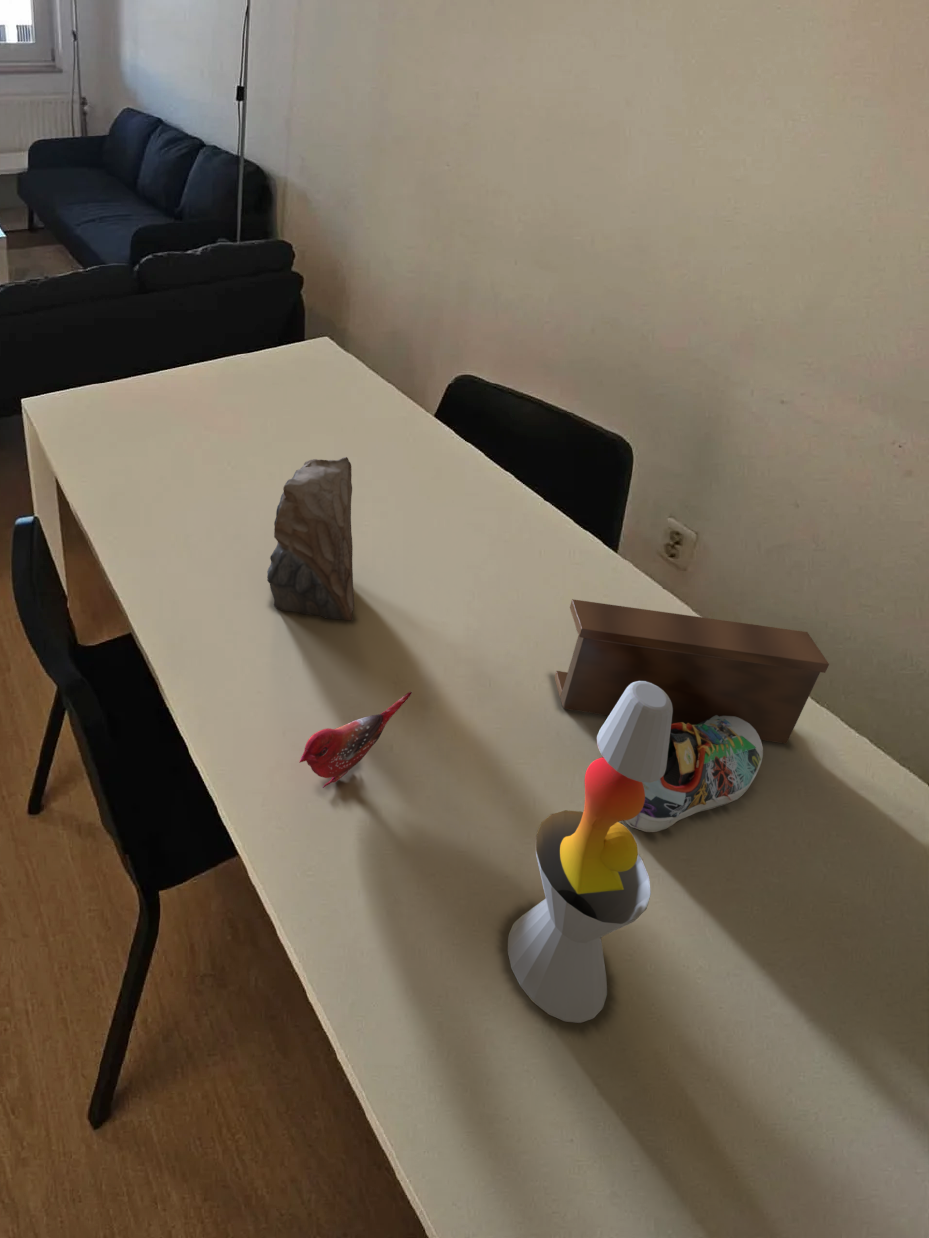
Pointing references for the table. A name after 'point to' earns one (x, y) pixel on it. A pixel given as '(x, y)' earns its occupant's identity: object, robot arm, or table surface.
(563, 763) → the table surface
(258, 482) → the table surface
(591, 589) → the table surface
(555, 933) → the lava lamp
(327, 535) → the brown rock
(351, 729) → the decorative bird figurine
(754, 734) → the sneaker
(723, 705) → the wooden wall shelf
